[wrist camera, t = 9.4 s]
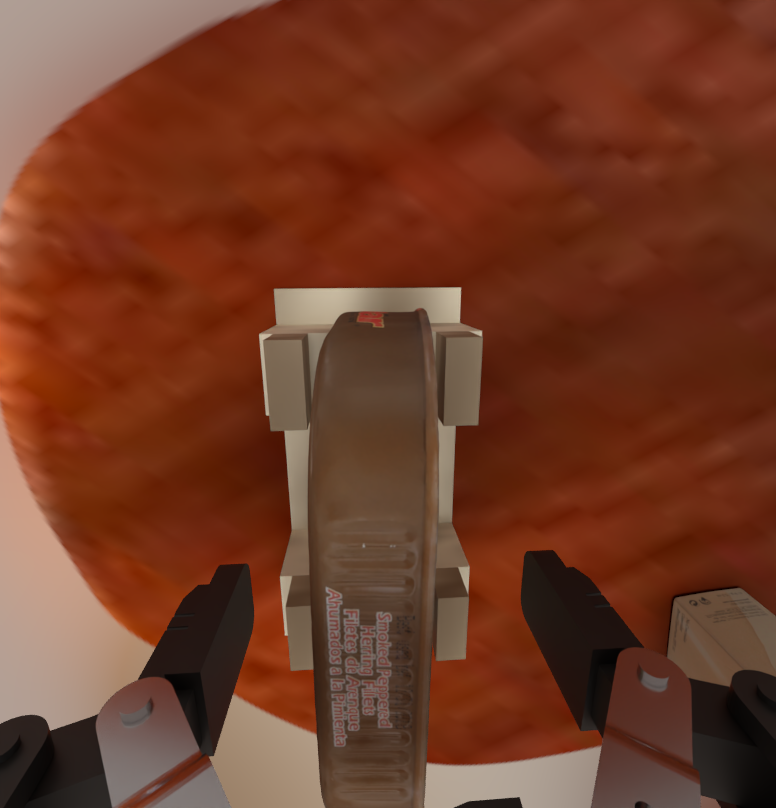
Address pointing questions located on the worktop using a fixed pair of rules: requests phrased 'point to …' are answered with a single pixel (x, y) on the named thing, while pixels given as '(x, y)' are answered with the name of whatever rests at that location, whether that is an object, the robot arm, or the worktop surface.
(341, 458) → the tin
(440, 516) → the cradle
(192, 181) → the worktop surface
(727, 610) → the box
